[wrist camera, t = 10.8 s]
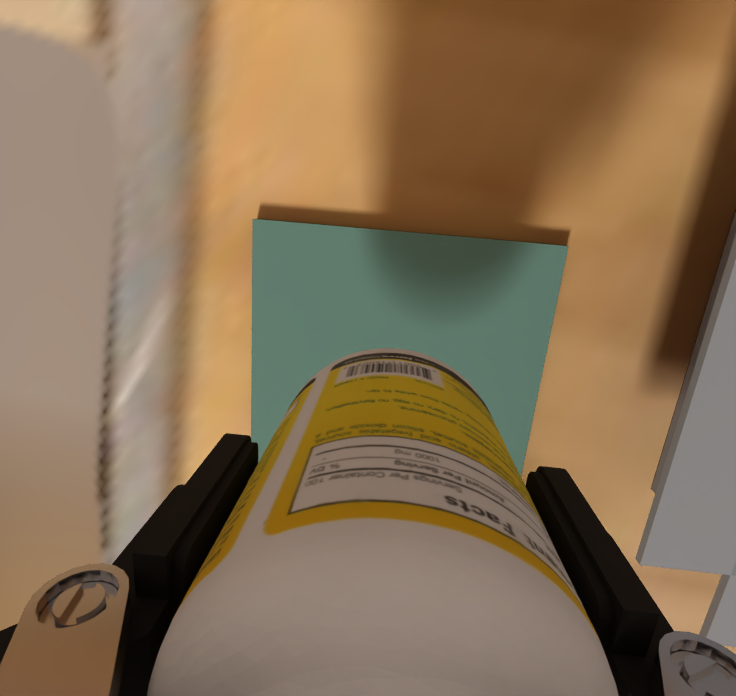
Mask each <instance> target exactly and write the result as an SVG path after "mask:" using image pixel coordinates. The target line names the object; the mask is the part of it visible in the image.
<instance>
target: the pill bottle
mask: <svg viewBox="0 0 736 696" xmlns="http://www.w3.org/2000/svg"><path fill="white" fill-rule="evenodd" d="M147 696H619V695H618V691H617V687H616V683H615V680H614V677H613V675H612V672H611V669H610V666H609V663H608V660H607V658H606V655H605V653H604V650H603V647H602V645H601V642H600V640H599V637H598V635H597V633H596V631H595V629H594V627H593V625H592V623H591V621H590V619H589V617H588V616H587V613H586V611H585V609H584V607H583V605H582V602H581V601H580V599H579V597H578V595H577V593H576V591H575V589H574V587H573V584H572V582H571V580H570V578H569V576H568V574H567V572H566V570H565V568H564V566H563V564H562V562H561V560H560V558H559V556H558V554H557V552H556V550H555V548H554V546H553V543H552V541H551V539H550V537H549V535H548V533H547V531H546V528H545V526H544V524H543V522H542V520H541V518H540V516H539V514H538V512H537V510H536V507H535V505H534V503H533V502H532V499H531V497H530V495H529V492H528V491H527V489H526V487H525V485H524V483H523V481H522V478H521V476H520V474H519V472H518V470H517V468H516V466H515V464H514V462H513V460H512V458H511V456H510V454H509V452H508V450H507V448H506V446H505V443H504V441H503V439H502V437H501V435H500V433H499V431H498V429H497V427H496V425H495V422H494V420H493V418H492V416H491V414H490V412H489V410H488V408H487V406H486V404H485V403H484V401H483V400H482V399H481V397H480V396H479V394H478V393H477V392H476V390H475V389H474V388H473V387H472V385H471V384H470V383H469V382H468V381H467V380H466V379H465V378H464V377H463V376H462V375H460V374H459V373H458V372H457V371H455V370H454V369H452V368H451V367H449V366H448V365H446V364H445V363H443V362H441V361H439V360H437V359H435V358H433V357H431V356H428V355H426V354H422V353H419V352H415V351H411V350H404V349H394V348H381V349H371V350H365V351H360V352H356V353H353V354H350V355H347V356H345V357H342V358H340V359H338V360H336V361H334V362H332V363H331V364H329V365H327V366H326V367H324V368H323V369H321V370H320V371H319V372H317V373H316V374H315V375H314V376H313V377H312V378H311V379H310V380H309V381H308V382H307V383H306V384H305V385H304V386H303V387H302V389H301V390H300V391H299V393H298V394H297V396H296V397H295V399H294V400H293V402H292V403H291V405H290V406H289V408H288V410H287V412H286V414H285V415H284V417H283V419H282V420H281V422H280V424H279V426H278V428H277V430H276V432H275V434H274V435H273V437H272V439H271V441H270V443H269V445H268V446H267V448H266V450H265V452H264V453H263V455H262V457H261V459H260V461H259V463H258V465H257V466H256V468H255V470H254V472H253V474H252V475H251V477H250V479H249V481H248V483H247V485H246V487H245V489H244V491H243V492H242V494H241V496H240V498H239V500H238V501H237V503H236V505H235V507H234V509H233V511H232V512H231V514H230V516H229V518H228V520H227V521H226V523H225V525H224V527H223V529H222V530H221V532H220V534H219V536H218V538H217V540H216V542H215V543H214V545H213V547H212V549H211V550H210V552H209V554H208V556H207V558H206V559H205V561H204V563H203V565H202V567H201V568H200V570H199V572H198V574H197V575H196V577H195V579H194V581H193V583H192V584H191V586H190V588H189V590H188V592H187V594H186V595H185V597H184V599H183V601H182V603H181V605H180V606H179V608H178V610H177V612H176V614H175V616H174V618H173V620H172V622H171V624H170V626H169V629H168V631H167V633H166V636H165V638H164V640H163V642H162V645H161V647H160V650H159V653H158V655H157V658H156V662H155V665H154V668H153V671H152V674H151V678H150V682H149V687H148V693H147Z"/></svg>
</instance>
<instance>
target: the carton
mask: <svg viewBox="0 0 736 696" xmlns="http://www.w3.org/2000/svg"><path fill="white" fill-rule="evenodd" d="M651 489H652V490H653V491H654V493H655V497H654V500H653V503H652V507H651V510H650V513H649V516H648V520H647V523H646V526H645V529H644V533H643V536H642V539H641V542H640V546H639V549H638V552H637V555H636V560H637V561H638V563H639V564H640V565H645V566H654V567H663V568H671V569H680V570H689V571H698V572H706V573H715V574H722V576H721V579H720V581H719V584H718V587H717V589H716V592H715V594H714V597H713V600H712V602H711V605H710V607H709V610H708V613H707V615H706V618H705V621H704V623H703V626H702V628H701V631H700V634H699V635H701V636H704V637H706V638H708V639H710V640H712V641H714V642H717V643H719V644H721V645H723V646H732V647H736V212H735V215H734V218H733V221H732V225H731V228H730V231H729V235H728V238H727V241H726V244H725V248H724V251H723V254H722V258H721V261H720V264H719V267H718V271H717V274H716V277H715V281H714V284H713V287H712V290H711V294H710V297H709V300H708V304H707V307H706V310H705V314H704V317H703V320H702V323H701V327H700V330H699V333H698V337H697V340H696V343H695V346H694V350H693V353H692V356H691V360H690V363H689V366H688V369H687V373H686V376H685V379H684V383H683V386H682V389H681V392H680V396H679V399H678V402H677V406H676V409H675V412H674V415H673V419H672V422H671V425H670V429H669V432H668V435H667V438H666V442H665V445H664V448H663V452H662V455H661V458H660V461H659V465H658V468H657V471H656V475H655V478H654V481H653V484H652V488H651Z"/></svg>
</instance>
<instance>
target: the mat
mask: <svg viewBox="0 0 736 696" xmlns="http://www.w3.org/2000/svg"><path fill="white" fill-rule="evenodd" d="M567 250H568V246H564V245H554V244H542V243H530V242H519V241H507V240H496V239H484V238H473V237H461V236H449V235H438V234H426V233H415V232H403V231H392V230H380V229H368V228H357V227H345V226H334V225H322V224H311V223H299V222H288V221H276V220H264V219H253V251H252V397H251V442H256V443H258V463H259V461H260V459H261V457H262V455H263V453H264V452H265V450H266V448H267V446H268V445H269V443H270V441H271V439H272V437H273V435H274V434H275V432H276V430H277V428H278V426H279V424H280V422H281V420H282V419H283V417H284V415H285V414H286V412H287V410H288V408H289V406H290V405H291V403H292V402H293V400H294V399H295V397H296V396H297V394H298V393H299V391H300V390H301V389H302V387H303V386H304V385H305V384H306V383H307V382H308V381H309V380H310V379H311V378H312V377H313V376H314V375H315V374H316V373H317V372H319V371H320V370H321V369H323V368H324V367H326V366H327V365H329V364H331V363H332V362H334V361H336V360H338V359H340V358H342V357H345V356H347V355H350V354H353V353H356V352H360V351H365V350H371V349H381V348H394V349H404V350H411V351H415V352H419V353H422V354H426V355H428V356H431V357H433V358H435V359H437V360H439V361H441V362H443V363H445V364H446V365H448V366H449V367H451V368H452V369H454V370H455V371H457V372H458V373H459V374H460V375H462V376H463V377H464V378H465V379H466V380H467V381H468V382H469V383H470V384H471V385H472V387H473V388H474V389H475V390H476V392H477V393H478V394H479V396H480V397H481V399H482V400H483V401H484V403H485V404H486V406H487V408H488V410H489V412H490V414H491V416H492V418H493V420H494V422H495V425H496V427H497V429H498V431H499V433H500V435H501V437H502V439H503V441H504V443H505V446H506V448H507V450H508V452H509V454H510V456H511V458H512V460H513V462H514V464H515V466H516V468H517V470H518V472H519V474H520V476H521V474H522V469H523V464H524V460H525V455H526V450H527V445H528V440H529V435H530V430H531V425H532V421H533V416H534V411H535V406H536V401H537V396H538V391H539V387H540V382H541V377H542V372H543V367H544V362H545V357H546V353H547V348H548V343H549V338H550V333H551V328H552V323H553V318H554V314H555V309H556V304H557V299H558V294H559V289H560V284H561V280H562V275H563V270H564V265H565V260H566V255H567Z"/></svg>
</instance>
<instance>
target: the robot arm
mask: <svg viewBox="0 0 736 696" xmlns="http://www.w3.org/2000/svg"><path fill="white" fill-rule="evenodd" d="M257 465H258V443H256V442H251V437H250V436H247V435H238V434H228V433H227V434H225V435H224V436H223V437H222V438H221V440H220V441H219V442H218V443H217V445H216V446H215V447H214V449H213V450H212V451H211V452H210V454H209V455H208V456H207V457H206V459H205V460H204V461H203V463H202V464H201V465H200V466H199V468H198V469H197V470H196V472H195V473H194V474H193V475H192V477H191V478H190V479H189V480H188V482H187V483H186V484H185V485H178V486H176V487H175V488H174V489H173V490H172V491H171V493H170V494H169V495H168V496H167V498H166V499H165V500H164V501H163V502H162V504H161V505H160V506H159V507H158V509H157V510H156V511H155V512H154V514H153V515H152V516H151V517H150V518H149V520H148V521H147V522H146V523H145V525H144V526H143V527H142V528H141V529H140V531H139V532H138V533H137V534H136V536H135V537H134V538H133V539H132V541H131V542H130V543H129V544H128V545H127V547H126V548H125V549H124V550H123V552H122V553H121V554H120V555H119V557H118V558H117V559H116V560H115V561H114V563H113V564H112V565H110V564H104V563H99V564H88V565H84V566H80V567H76V568H73V569H70V570H68V571H66V572H64V573H61V574H59V575H57V576H56V577H54V578H53V579H51V580H50V581H48V582H47V583H45V584H44V585H43V586H42V587H41V588H40V589H39V590H38V591H36V592H35V593H34V594H33V595H32V597H31V599H30V600H29V602H28V603H27V605H26V606H25V608H24V611H23V613H22V615H21V618H20V620H19V623H18V624H16V625H13V626H11V627H9V628H7V629H4V630H2V631H0V696H147V693H148V687H149V682H150V678H151V674H152V671H153V668H154V665H155V662H156V658H157V655H158V653H159V650H160V647H161V645H162V642H163V640H164V638H165V636H166V633H167V631H168V629H169V626H170V624H171V622H172V620H173V618H174V616H175V614H176V612H177V610H178V608H179V606H180V605H181V603H182V601H183V599H184V597H185V595H186V594H187V592H188V590H189V588H190V586H191V584H192V583H193V581H194V579H195V577H196V575H197V574H198V572H199V570H200V568H201V567H202V565H203V563H204V561H205V559H206V558H207V556H208V554H209V552H210V550H211V549H212V547H213V545H214V543H215V542H216V540H217V538H218V536H219V534H220V532H221V530H222V529H223V527H224V525H225V523H226V521H227V520H228V518H229V516H230V514H231V512H232V511H233V509H234V507H235V505H236V503H237V501H238V500H239V498H240V496H241V494H242V492H243V491H244V489H245V487H246V485H247V483H248V481H249V479H250V477H251V475H252V474H253V472H254V470H255V468H256V466H257ZM526 489H527V491H528V492H529V495H530V497H531V499H532V502H533V503H534V505H535V507H536V510H537V512H538V514H539V516H540V518H541V520H542V522H543V524H544V526H545V528H546V531H547V533H548V535H549V537H550V539H551V541H552V543H553V546H554V548H555V550H556V552H557V554H558V556H559V558H560V560H561V562H562V564H563V566H564V568H565V570H566V572H567V574H568V576H569V578H570V580H571V582H572V584H573V587H574V589H575V591H576V593H577V595H578V597H579V599H580V601H581V602H582V605H583V607H584V609H585V611H586V613H587V616H588V617H589V619H590V621H591V623H592V625H593V627H594V629H595V631H596V633H597V635H598V637H599V640H600V642H601V645H602V647H603V650H604V653H605V655H606V658H607V660H608V663H609V666H610V669H611V672H612V675H613V677H614V680H615V683H616V687H617V691H618V695H619V696H736V654H734V653H733V652H731V651H730V650H728V649H727V648H725V647H724V646H722V645H721V644H719V643H717V642H714V641H712V640H710V639H708V638H706V637H704V636H701V635H697V634H694V633H690V632H681V631H673V629H672V627H671V626H670V624H669V623H668V621H667V620H666V618H665V617H664V615H663V614H662V612H661V611H660V609H659V608H658V606H657V605H656V603H655V602H654V600H653V599H652V597H651V596H650V594H649V593H648V591H647V590H646V588H645V587H644V585H643V584H642V582H641V580H640V579H639V577H638V576H637V574H636V573H635V571H634V570H633V568H632V567H631V565H630V564H629V562H628V561H627V559H626V558H625V556H624V555H623V553H622V552H621V550H620V549H619V547H618V546H617V544H616V543H615V541H614V540H613V538H612V537H611V536H610V535H609V533H607V531H606V530H605V528H604V527H603V525H602V524H601V522H600V521H599V519H598V518H597V516H596V515H595V513H594V512H593V510H592V509H591V507H590V505H589V504H588V502H587V501H586V499H585V498H584V496H583V495H582V493H581V492H580V490H579V489H578V487H577V486H576V484H575V483H574V481H573V479H572V478H571V476H570V475H569V473H568V472H567V471H566V470H565V469H561V468H552V467H542V466H539V467H538V468H537V470H536V472H530V473H529V474H528V477H527V482H526Z"/></svg>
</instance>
